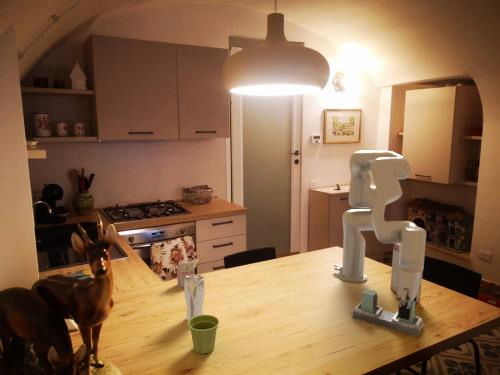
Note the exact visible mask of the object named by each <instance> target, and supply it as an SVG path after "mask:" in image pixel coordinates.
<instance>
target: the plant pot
mask: <svg viewBox="0 0 500 375" xmlns="http://www.w3.org/2000/svg"><path fill="white" fill-rule="evenodd" d="M219 324H220V320H219V318H218V317H216V316H214V315H211V314H203V315H199V316H195V317H193V318H191V319H190V320H189V321H187V326H188V328H189V331H190V333H191V334H190V335H191V339H192V340H191V341H192V344H193V345H192V346H193V351H194V352H195V353H197V354H200V355H204V354H210V353H212V352H213V351H214V349H215V342H216V338H217V336H216V335H217V330H218V328H219Z"/></svg>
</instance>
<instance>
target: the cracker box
mask: <svg viewBox="0 0 500 375" xmlns="http://www.w3.org/2000/svg"><path fill="white" fill-rule="evenodd" d="M392 249H393V250H392V262H391V265H392V266H391V273H390V274H391V275H390V287H389V288H390V290H391V291H393V293H395V294H396V295H397V293H398V284H399V277H400V271H401V269H400V268H399V255H400V243H393V248H392ZM423 271H424V270H423ZM423 271H422V272H420V276H419V288H418V293H417V295H416V297H417V299H416V304H417V303H421V295H422V294H421V293H422V283H423Z"/></svg>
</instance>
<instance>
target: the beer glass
mask: <svg viewBox="0 0 500 375" xmlns="http://www.w3.org/2000/svg"><path fill="white" fill-rule="evenodd" d="M183 289H184V299H185V304H186V309H187V310H186V316H185V319H186V321H187V322H188V321H189V320H190V319H191V318H193V317H195V316H199V315H204V312H203V304H204V298H205V278H204V276H203V275H201V274H195V275H189V276H187V277H185V285H184V287H183Z"/></svg>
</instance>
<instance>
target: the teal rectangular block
mask: <svg viewBox="0 0 500 375" xmlns="http://www.w3.org/2000/svg"><path fill="white" fill-rule="evenodd" d="M378 297H379V296H378V291H377V290H376V291H375V290H373V289H372V290H371V289H368V288H365V289H364V290H363V291H362V292H361V301H360V302H361V310H364V311H368V312H371V313H374V312H375V310H376V307H377V306H378V299H379V298H378Z"/></svg>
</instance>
